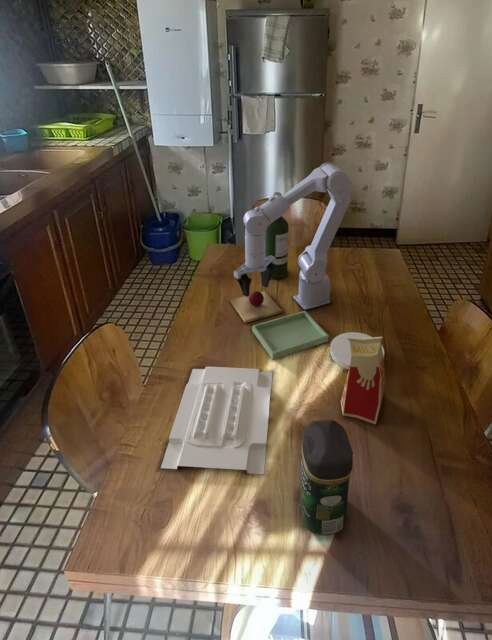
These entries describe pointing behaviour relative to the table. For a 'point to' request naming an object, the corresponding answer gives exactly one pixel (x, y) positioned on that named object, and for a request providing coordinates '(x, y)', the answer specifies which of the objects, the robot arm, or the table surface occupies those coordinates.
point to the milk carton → (364, 380)
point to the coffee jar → (325, 476)
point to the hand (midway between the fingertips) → (255, 290)
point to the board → (255, 308)
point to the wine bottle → (277, 245)
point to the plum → (256, 298)
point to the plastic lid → (344, 348)
